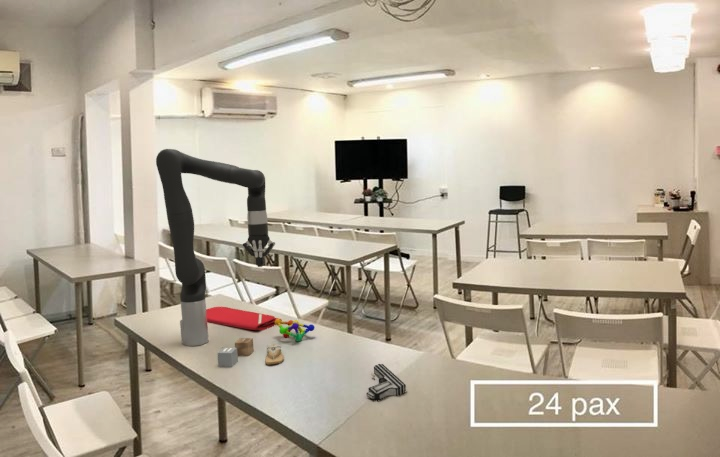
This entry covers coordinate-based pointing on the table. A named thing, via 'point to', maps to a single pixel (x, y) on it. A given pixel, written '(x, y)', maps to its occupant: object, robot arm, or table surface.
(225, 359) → the slate block
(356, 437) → the table surface
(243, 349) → the walnut block
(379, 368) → the handgun
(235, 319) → the dish drying mat
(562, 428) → the table surface
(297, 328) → the decorative model
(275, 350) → the sandal
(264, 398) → the table surface
